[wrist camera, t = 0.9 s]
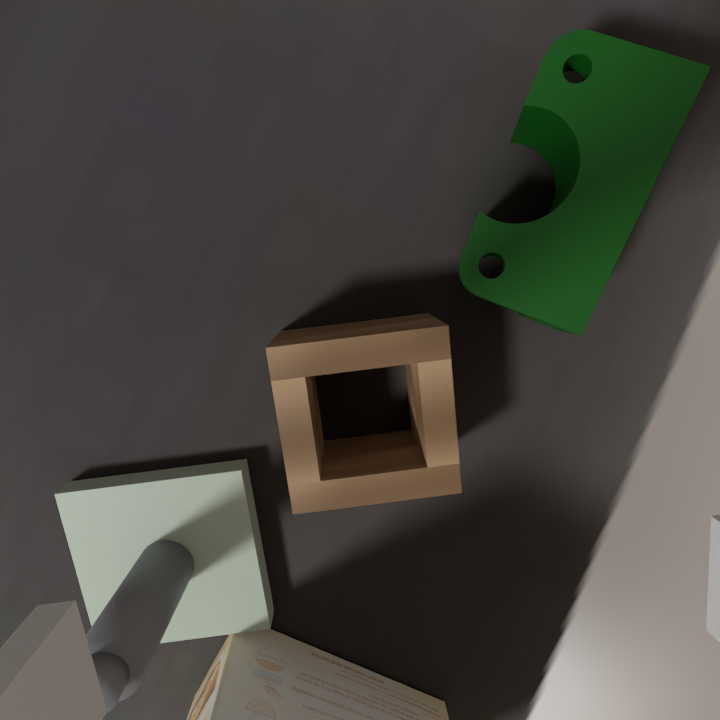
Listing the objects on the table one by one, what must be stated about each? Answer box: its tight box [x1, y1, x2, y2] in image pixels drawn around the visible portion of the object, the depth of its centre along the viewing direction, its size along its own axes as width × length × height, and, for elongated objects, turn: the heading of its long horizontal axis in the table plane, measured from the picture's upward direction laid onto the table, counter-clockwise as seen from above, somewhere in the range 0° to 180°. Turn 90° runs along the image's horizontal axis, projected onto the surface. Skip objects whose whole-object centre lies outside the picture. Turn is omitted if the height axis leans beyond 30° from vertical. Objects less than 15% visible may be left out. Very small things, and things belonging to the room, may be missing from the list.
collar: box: [266, 313, 462, 515], centre depth 23 cm, size 8×8×5 cm
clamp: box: [458, 30, 711, 336], centre depth 22 cm, size 12×6×9 cm, turn 153°
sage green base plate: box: [54, 459, 274, 713], centre depth 23 cm, size 10×10×10 cm
